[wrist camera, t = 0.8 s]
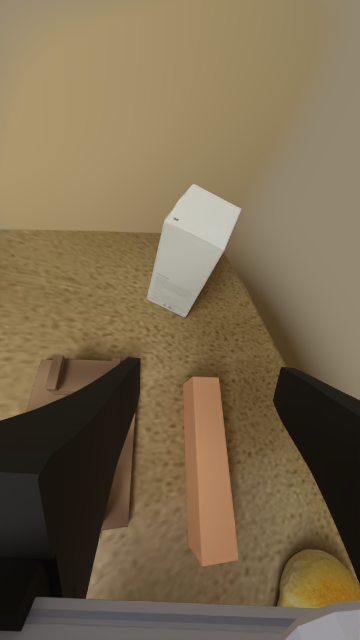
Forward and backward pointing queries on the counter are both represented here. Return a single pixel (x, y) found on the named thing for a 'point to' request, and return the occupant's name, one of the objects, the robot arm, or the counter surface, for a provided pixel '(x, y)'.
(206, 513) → the bar
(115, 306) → the counter surface
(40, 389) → the stand
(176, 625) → the robot arm
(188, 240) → the small box
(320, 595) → the bread roll
